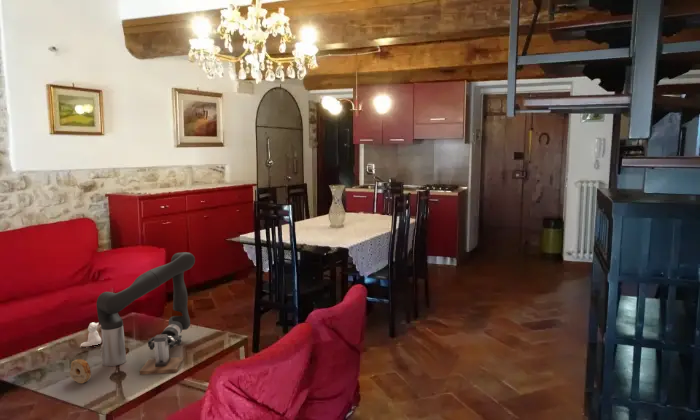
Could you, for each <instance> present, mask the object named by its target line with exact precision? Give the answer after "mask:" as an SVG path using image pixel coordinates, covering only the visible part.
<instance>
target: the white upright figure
mask: <svg viewBox="0 0 700 420" xmlns="http://www.w3.org/2000/svg"><path fill="white" fill-rule="evenodd" d="M99 324H100V323H99V322H95V321H94V322H90V323H89V325H88V327H87V331H88V333H87V334H88V335H87V341H84V342H82V343H80V347H81V346H92V345H98V344H101V343H103V342H102V337H101V336H100V334H99V332H98V330H97V329H98V326H99ZM98 346H99V345H98Z"/></svg>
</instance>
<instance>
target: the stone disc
mask: <svg viewBox="0 0 700 420" xmlns="http://www.w3.org/2000/svg"><path fill="white" fill-rule="evenodd" d="M69 375H70V377H71V378H72V380H73V381H74V382H76V383H78V384H85V383H86V382H88V381H89V380H90V379H91V377H92V371H91V367H90V364H89V362H88V361H86V360H85V359H82V358H77V359H75V360H73V361H71V363H70V371H69Z"/></svg>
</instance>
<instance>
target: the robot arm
mask: <svg viewBox="0 0 700 420" xmlns="http://www.w3.org/2000/svg"><path fill="white" fill-rule="evenodd" d="M170 259H171V260H170V262H168V263H166V264H162V265H159V266H157V267H154V268H152V269H149V270H147V271H145V272H143V273H142V274H140V275H139V276H137V277H136V278H135V280H134V281H133V282H132V283H131V285H130V286H128V287H127V288H124V289H123V290H121V291H118V292H112V291H104V292H102V293H101V294H99V296H98V297H97V299H96V312H97V319H98V323H99V324H100V329H101V330H100V331H101V339H102V340H101V341H102V342H101V343H102V344H101V346H100V348H101V359H102V366H107V367H115V366H120V365H122V364H124V363H125V362H127V354H126V344H125V342H126V341H125V332H124V321H123V318H122V317H121V316H120V315H119V312H121V311H122V310H124V309H125V308H126V307H128V306H129V305H130V304H132V303H134V302H135V301H136V300H138V299H140V298H142V297H143V296H145V295H147V294H148V293H150V292H152V291H153V290H155V289H157V288H159V287H160V286H161V285H164V284H165V283H166V282H168V281H170V280H171V279H172V285H173V287H172V288H173V296H172V297H173V299H172V300H173V302H172V310H173V311H175V312H178V313H181V314H182V315H173V316H171V317H169V319H168V326H166V327H165V328H164V329H163V330H162V332H161V333H160V335H161V334H167V338H168V346H169V349H171V350H172V349H173V348H174V347H176V346H180V345H181V344H182V342H183V335H181V333H182V332H183V331H185V330H188V329H189V328H190V326H191V319H190V315H189V310H188V300H189V299H188V297H189V295H188V289H187V287H186V286H187V285H186V283H185V280H184V279H185V278H184V274H185V272H187V271H188V270H190V269H192V268H193V266H194V265H195V262H196V257H195V256H194V254H193V253H191V252H189V251H188V252H186V251H185V252H184V251H183V252H175V253H174V254H173V255H172V257H171V258H170ZM154 338H155V336H153V337H150V339H149V340H148V341H147V346H148V347H149V350H150V351H151V350H153V349H155V345H154Z"/></svg>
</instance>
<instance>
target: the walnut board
mask: <svg viewBox="0 0 700 420" xmlns="http://www.w3.org/2000/svg"><path fill="white" fill-rule="evenodd" d="M184 362H185V357H184V356H180V357H178V356H177V357H170V361H169V362H168V364H167V365H166V366H163V367H155V363H156V358H149V359H147V361H146V362H145V363H144V365H143V366H142V368H140V370H139V375H141V376H142V375H151V374H152V375H153V374H169V373H170V374H171V373H177V372H179V369H180V368H181V366H182V365H183V363H184Z"/></svg>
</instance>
